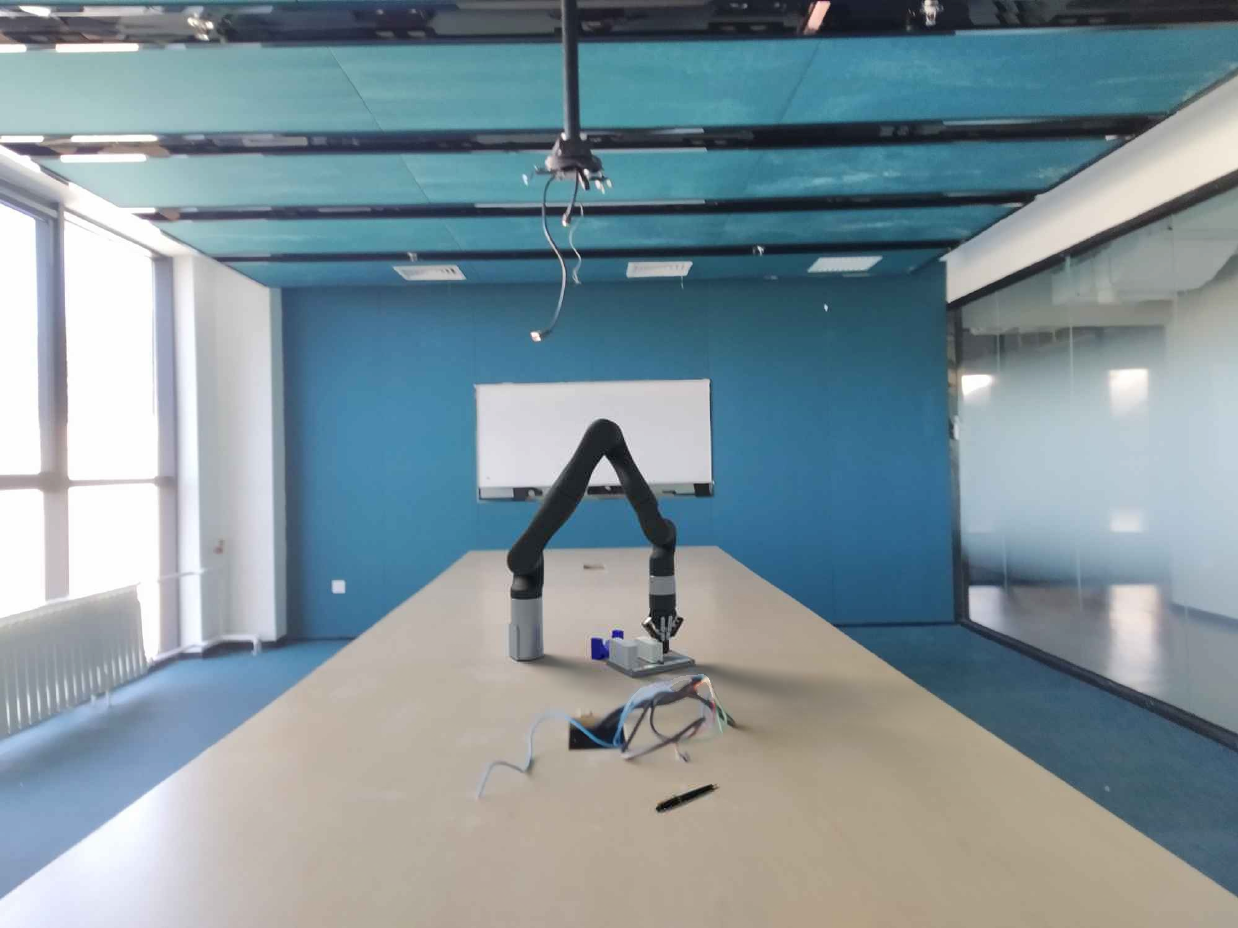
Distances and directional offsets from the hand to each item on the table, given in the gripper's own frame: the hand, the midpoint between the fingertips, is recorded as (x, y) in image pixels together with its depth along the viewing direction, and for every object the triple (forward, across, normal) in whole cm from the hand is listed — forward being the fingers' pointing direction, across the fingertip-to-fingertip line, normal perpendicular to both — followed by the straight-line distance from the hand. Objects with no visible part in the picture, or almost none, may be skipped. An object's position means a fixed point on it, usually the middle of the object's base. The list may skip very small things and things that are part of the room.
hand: (663, 653), depth 197 cm
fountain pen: (+3, +40, +68) cm, 79 cm away
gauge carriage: (+1, +5, +1) cm, 5 cm away
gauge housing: (+2, +4, 0) cm, 5 cm away
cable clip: (+3, +10, -16) cm, 19 cm away
